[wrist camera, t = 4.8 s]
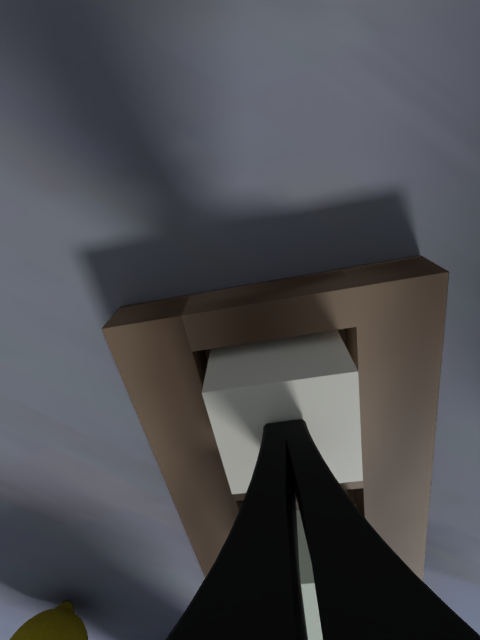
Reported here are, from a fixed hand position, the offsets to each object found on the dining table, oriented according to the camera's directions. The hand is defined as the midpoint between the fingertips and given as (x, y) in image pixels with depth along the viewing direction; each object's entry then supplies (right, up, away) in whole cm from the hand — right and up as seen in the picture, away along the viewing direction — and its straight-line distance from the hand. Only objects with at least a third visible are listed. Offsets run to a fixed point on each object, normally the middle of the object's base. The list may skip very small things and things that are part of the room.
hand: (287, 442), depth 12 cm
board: (+2, -6, +7) cm, 9 cm away
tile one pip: (0, +1, +3) cm, 3 cm away
